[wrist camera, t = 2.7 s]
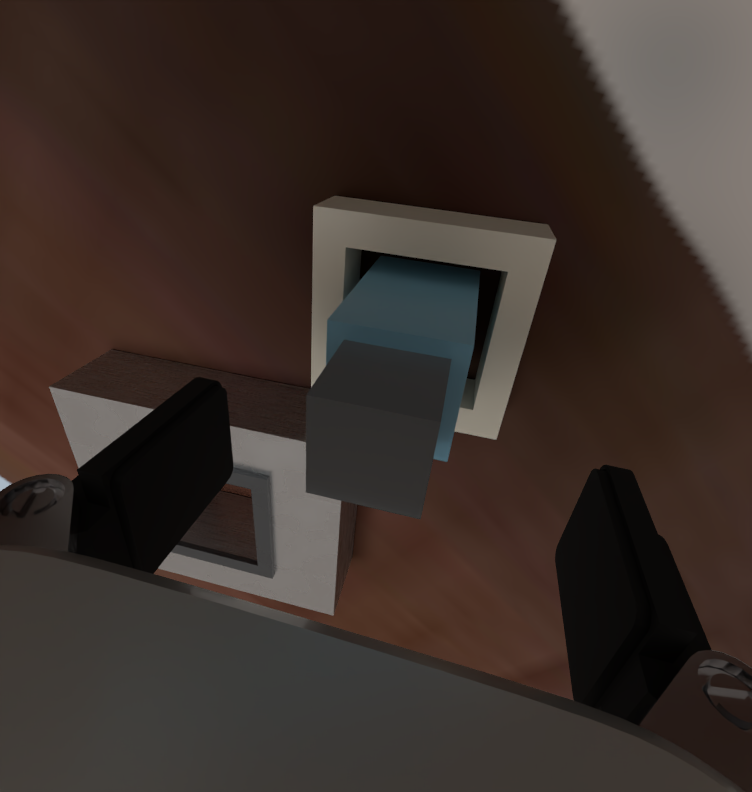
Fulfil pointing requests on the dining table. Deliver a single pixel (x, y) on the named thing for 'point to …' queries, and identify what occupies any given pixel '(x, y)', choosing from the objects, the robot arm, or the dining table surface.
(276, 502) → the port panel
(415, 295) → the plug
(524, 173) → the dining table surface
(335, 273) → the cream square frame
